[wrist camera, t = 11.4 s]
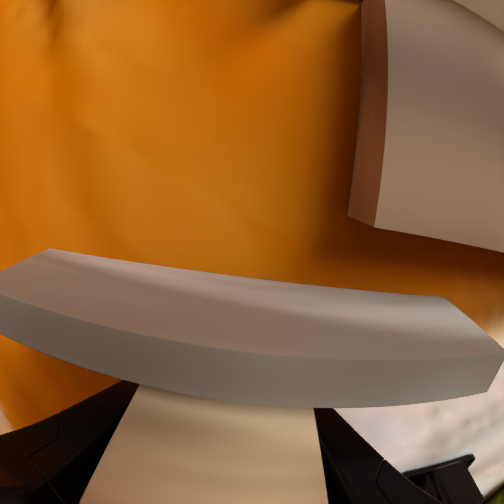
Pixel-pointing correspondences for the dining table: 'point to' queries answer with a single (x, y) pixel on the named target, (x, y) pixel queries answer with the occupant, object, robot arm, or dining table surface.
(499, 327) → the dining table surface
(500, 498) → the lettuce
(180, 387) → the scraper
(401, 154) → the board
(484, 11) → the tile
